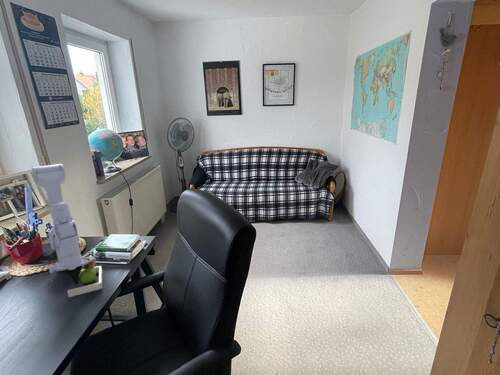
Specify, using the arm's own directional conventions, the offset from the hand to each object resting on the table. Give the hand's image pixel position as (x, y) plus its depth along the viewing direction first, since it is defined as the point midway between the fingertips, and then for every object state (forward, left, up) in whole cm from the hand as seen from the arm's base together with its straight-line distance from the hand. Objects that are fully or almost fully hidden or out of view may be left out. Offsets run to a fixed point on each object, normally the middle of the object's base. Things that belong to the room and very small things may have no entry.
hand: (77, 282), depth 103 cm
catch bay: (0, +3, -1) cm, 3 cm away
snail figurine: (0, +4, -1) cm, 4 cm away
